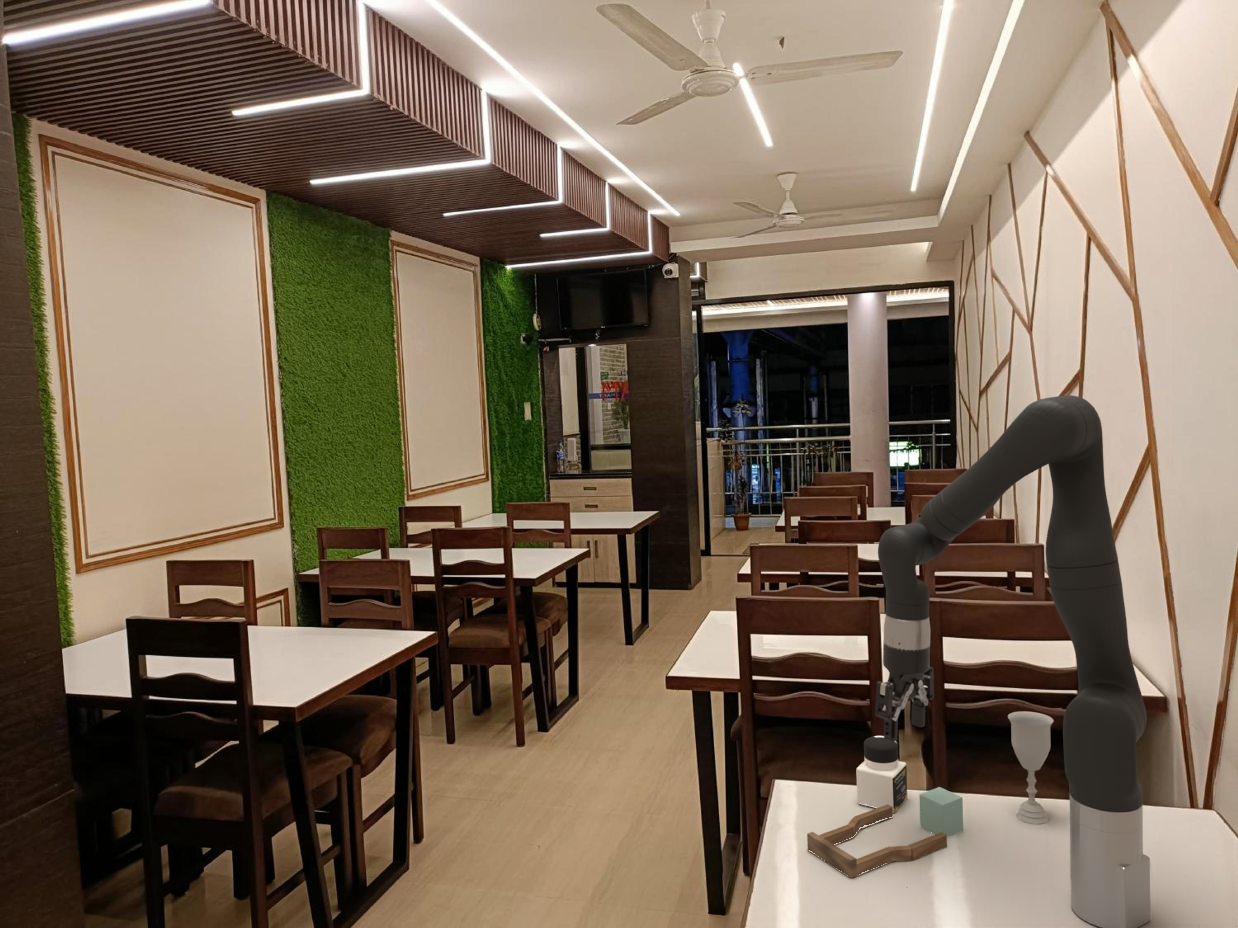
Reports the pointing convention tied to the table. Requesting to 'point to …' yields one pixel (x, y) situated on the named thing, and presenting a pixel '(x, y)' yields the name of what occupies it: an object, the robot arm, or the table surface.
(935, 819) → the teal block
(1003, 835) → the table surface
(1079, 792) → the robot arm
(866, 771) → the medicine bottle
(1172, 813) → the table surface
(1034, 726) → the chalice
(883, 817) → the keyhole rail
